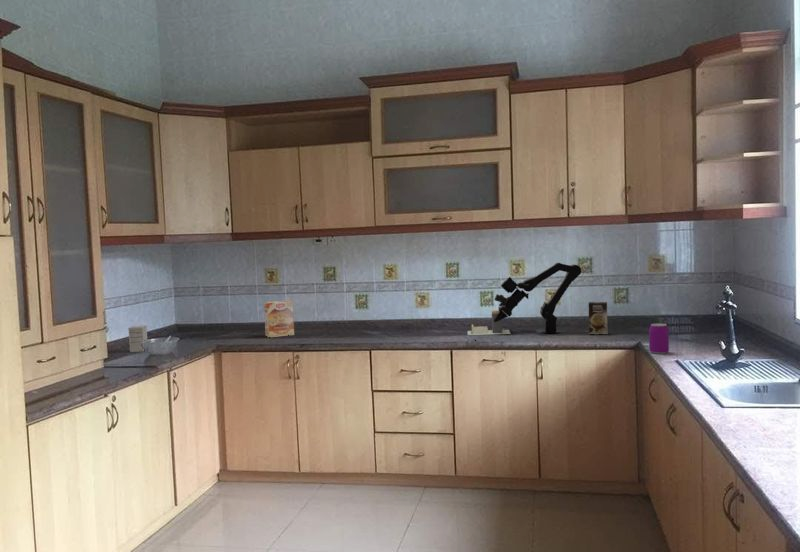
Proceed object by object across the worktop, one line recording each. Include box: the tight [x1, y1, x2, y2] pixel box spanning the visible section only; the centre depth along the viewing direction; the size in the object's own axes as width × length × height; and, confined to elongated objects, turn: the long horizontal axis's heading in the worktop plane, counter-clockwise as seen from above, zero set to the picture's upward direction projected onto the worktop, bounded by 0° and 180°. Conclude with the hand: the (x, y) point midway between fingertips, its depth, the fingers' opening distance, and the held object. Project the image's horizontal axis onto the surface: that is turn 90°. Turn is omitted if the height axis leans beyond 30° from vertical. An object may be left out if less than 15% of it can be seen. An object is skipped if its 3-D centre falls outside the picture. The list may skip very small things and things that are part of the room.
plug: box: [491, 310, 503, 333], centre depth 361 cm, size 5×4×11 cm
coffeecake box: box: [263, 299, 295, 338], centre depth 390 cm, size 15×7×20 cm, turn 118°
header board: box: [467, 324, 511, 336], centre depth 362 cm, size 22×14×5 cm, turn 85°
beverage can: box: [648, 323, 670, 355], centre depth 293 cm, size 8×8×12 cm
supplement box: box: [127, 324, 148, 353], centre depth 357 cm, size 7×7×13 cm
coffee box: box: [588, 301, 608, 335], centre depth 349 cm, size 9×6×16 cm
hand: (494, 320), depth 361 cm, fingers closed on plug, 4 cm apart
